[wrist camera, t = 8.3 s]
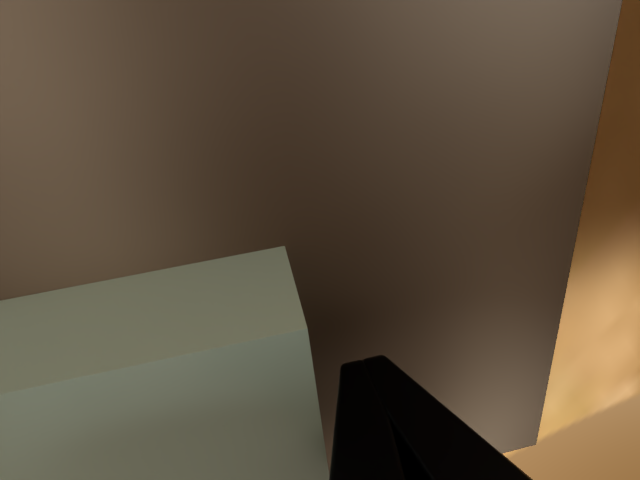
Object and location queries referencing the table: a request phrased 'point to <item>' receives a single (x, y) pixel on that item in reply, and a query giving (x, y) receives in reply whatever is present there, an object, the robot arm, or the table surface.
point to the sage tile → (162, 377)
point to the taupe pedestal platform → (320, 169)
